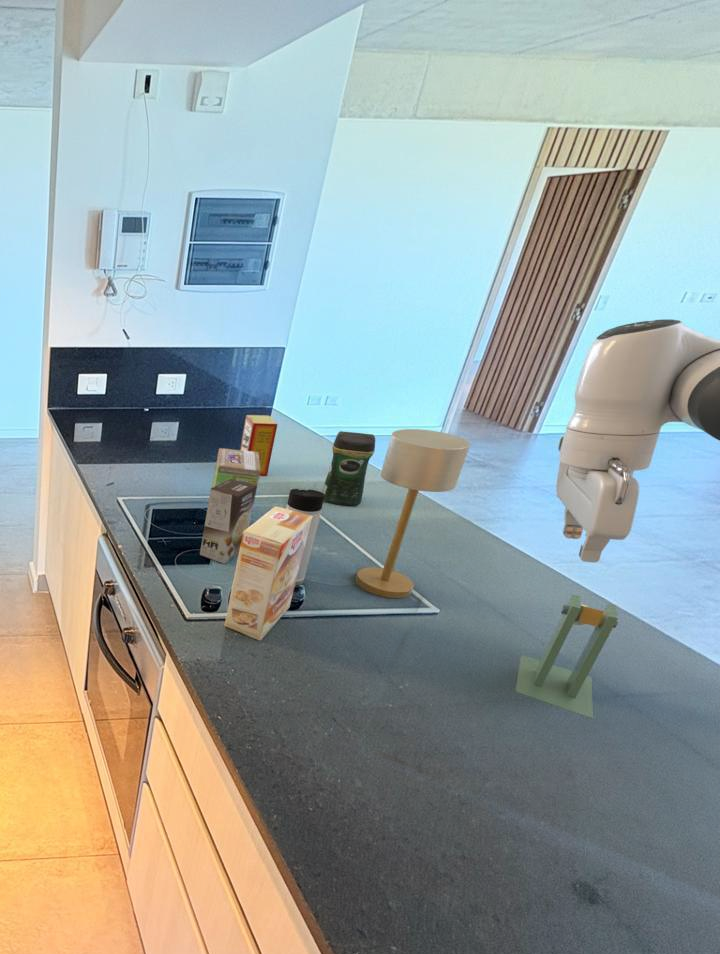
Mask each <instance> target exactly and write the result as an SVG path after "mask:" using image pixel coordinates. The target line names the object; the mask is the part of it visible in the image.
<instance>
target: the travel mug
mask: <svg viewBox="0 0 720 954" xmlns="http://www.w3.org/2000/svg"><path fill="white" fill-rule="evenodd" d="M324 497H325V494H324V493H322V491H319V490H316V489H299V488H292V489H290V490H289V494H288V499H287V502H286V506H285V509H288V510H292V511H296V512H300V513H303V514H307V515H310V516H313V518H312V521H311V524H310V528H309V532H308V536H307V540H306V544H305V548H304V551H303V555H302V559H301V563H300V567H299V571H298V575H297V579H296V583H295V585H299V586H301V585H303V584H304V582H305V578H306V574H307V570H308V567H309V562H310V559H311V553H312V550H313V546H314V542H315V538H316V534H317V531H318V528H319V527H318V526H319V523H320V518H321V516H322V515H321V514H322V510H323V504H324V502H325V500H324Z"/></svg>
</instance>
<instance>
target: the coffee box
mask: <svg viewBox="0 0 720 954" xmlns="http://www.w3.org/2000/svg"><path fill="white" fill-rule="evenodd" d="M257 490H258V486H257V485H254V484H250V483H247V482H243V481H237V480H234V479H229V480H227V481H225V482H223V483H221V484H219V485H217V486H215V487H213V488H212V487H211V488H210V491H209V497H208V504H207V509H206V515H205V521H204V527H203V533H202V537H201V538H202V539H201V545H200V550H199V556H201V557H204V558H207V559H210V560H213V561H215V562H218V563H221V564H223V565H225V564H227V563H229V562H230V561H232V560H233V559H235V558H236V557H238V555H239V550H240V546H241V541H242V536H243V531H244V530H246V529H247V528H248V527H249V526H250V525H251V519H252V514H253V509H254V504H255V499H256V495H257Z"/></svg>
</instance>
